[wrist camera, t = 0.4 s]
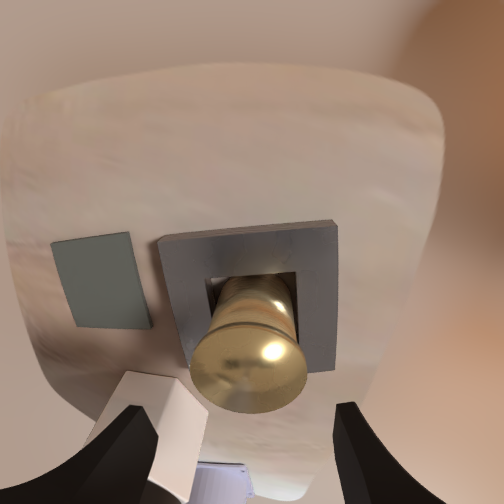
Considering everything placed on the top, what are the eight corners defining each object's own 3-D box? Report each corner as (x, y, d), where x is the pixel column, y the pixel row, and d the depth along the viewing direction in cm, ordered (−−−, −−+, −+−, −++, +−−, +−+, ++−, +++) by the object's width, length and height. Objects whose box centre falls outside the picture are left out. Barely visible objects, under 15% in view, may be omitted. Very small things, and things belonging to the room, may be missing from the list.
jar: (99, 379, 22) (39, 476, 11) (161, 356, 21) (100, 487, 9) (159, 437, 25) (127, 532, 13) (224, 424, 23) (205, 541, 12)
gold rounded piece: (297, 333, 19) (306, 410, 13) (221, 337, 20) (202, 413, 13) (294, 261, 18) (306, 324, 11) (209, 268, 18) (177, 331, 12)
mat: (152, 326, 20) (151, 329, 20) (79, 324, 21) (77, 326, 20) (129, 231, 18) (126, 233, 17) (53, 242, 18) (50, 243, 18)
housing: (331, 356, 20) (334, 370, 18) (195, 364, 21) (191, 377, 19) (332, 219, 17) (337, 225, 15) (165, 234, 18) (157, 242, 16)
